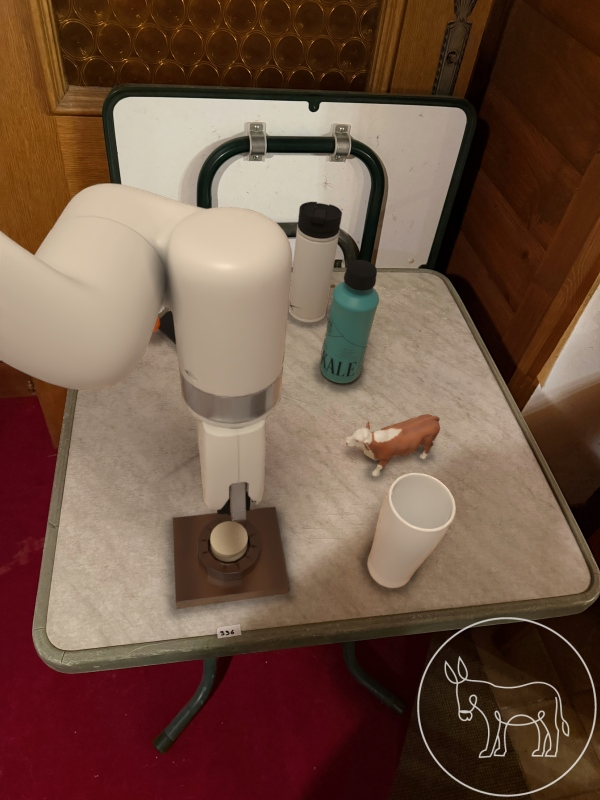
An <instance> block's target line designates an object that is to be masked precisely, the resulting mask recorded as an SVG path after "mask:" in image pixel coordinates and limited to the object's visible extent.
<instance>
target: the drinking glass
mask: <svg viewBox="0 0 600 800" xmlns="http://www.w3.org/2000/svg"><path fill="white" fill-rule="evenodd" d="M456 510H457V509H456V501H455V498H454V496H453V493H452V491H451V490H450V489H449V487H447V485H445V484H444V483H443V482H442V481H441V480H440V479H438V478H437V477H435V476H432V475H430V474H427V473H422V472H408V473H405V474H402V475H400V476H399V477H397V478H396V479H395V480H393V482H392V483H391V485H390V486H389V489H388V491H387V493H386V495H385V497H384V500H383V502H382V505H381V507H380V511H379V514H378V518H377V523H376V527H375V531H374V536H373V539H372V544H371V547H370V552H369V554H368V557H367V561H366V563H367V570H368V573H369V575H370V577H371V578H372V579H373V580H374V581H375V582H376V583H377V584H378V585H380V586H382V587H385V588H388V589H397V588H401V587H404V586H405V585H406V584H408V582H409V581H410V580H412V579H411V578H412V577H413V575H414V574H415V573H416V572H417V570H418V569H419V568H420V567H421V565H422V564H424V562H425V561H426V560H427V558H428V557H429V556H430V555H431V554H432V552H434V551H435V549H436V548H437V547H438V545H440V543H441V541H443V539H444V537H445V536H446V534H447V532H448V530H449V528H450V526H451V524H452V522H453V521H454V518H455V516H456Z"/></svg>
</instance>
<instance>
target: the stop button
mask: <svg viewBox="0 0 600 800" xmlns="http://www.w3.org/2000/svg"><path fill="white" fill-rule="evenodd" d="M247 543H248V535H247V532H246V530H245V528H244V527H243V526H242V525H240V524H239V523H237V522H232V521H227V522H223V523H220V524H219V525H217V526H216V527H215V528H214V529H213V531H212V533H211V537H210V544H211V551H212V553H213V555H214V556H215V557H216V558H217V559H219V560H221V561H224V562H232V561H236V560H238V559H240V558H241V557H242V556H243V555H244V554H245V552H246V550H247Z"/></svg>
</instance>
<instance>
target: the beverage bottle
mask: <svg viewBox="0 0 600 800" xmlns="http://www.w3.org/2000/svg"><path fill="white" fill-rule="evenodd" d="M377 275H378V270H377V267H376V266H375V264H373V263H372V262H370V261H368V260H364V259H355V260H351V261H350V262H349V263H348V264H347V265H346V269H345V272H344V274H343V281H342V282H340V283H338V284H337V285H336V286H335V287H334V288H333V291H332V299H331V304H330V305H329V310H328V313H327V314H328V316H327V320H326V330H325V334H324V336H323V338H324V339H323V342H322V348H321V350H322V351H321V352H320V362H319V368H320V371H321V373H322V376H324V377H325V378H326V379H327V380H330V381H331V382H334V383H337V384H347V383H351V382H354V381H355V380H356V379H357V378H359V376H360V375H361V372H362V369H363V367H364V360H365V359H366V358H365V357H366V354H367V353H366V352H367V348H369V346H368V344H369V338H370V336H371V331H372V328H373V324H374V320H375V316H376V312H377V308H378V305H379V304H380V303H379V302H380V295H379V293H378V292H377V290H376V289H375V286H376V283H377Z"/></svg>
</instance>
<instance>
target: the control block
mask: <svg viewBox="0 0 600 800" xmlns="http://www.w3.org/2000/svg"><path fill="white" fill-rule="evenodd" d="M277 513H278V512H277V508H276V506H270V507H260V508H250V510H249V511H246V521H237V523H239V524H240V525H242V526H243V527H244V528H245V530H246V532H247V535H248V543H247V550H246V552H245V554H244V555H243V556H242V557H241V558H240V559H238V560H236V561H232V562H224V561H221V560H219V559H217V558H216V557H215V556H214V555H213V553H212V551H211V544H210V537H211V533H212V531H213V529H214V528H215V527H216V526H217V525H219V524H220V523H223V522H227V521H232V518H231V515H228V514H218V513H217V512H213V513H204V514H195V515H185V516H176V517H172V537H173V540H172V541H173V565H174V567H173V569H174V591H175V592H174V594H175V595H174V596H175V605H176V609H177V610H178V609H185V608H186V609H187V608H193V607H201V606H208V605H215V604H221V603H222V604H223V603H230V602H237V601H244V600H251V599H258V598H259V599H260V598H265V597H266V598H267V597H273V596H281V595H288V594H289V590H290V583H289V577H288V572H287V567H286V561H285V560H286V559H285V555H284V549H283V543H282V538H281V532H280V526H279V525H280V524H279V520H278V515H277Z"/></svg>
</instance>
